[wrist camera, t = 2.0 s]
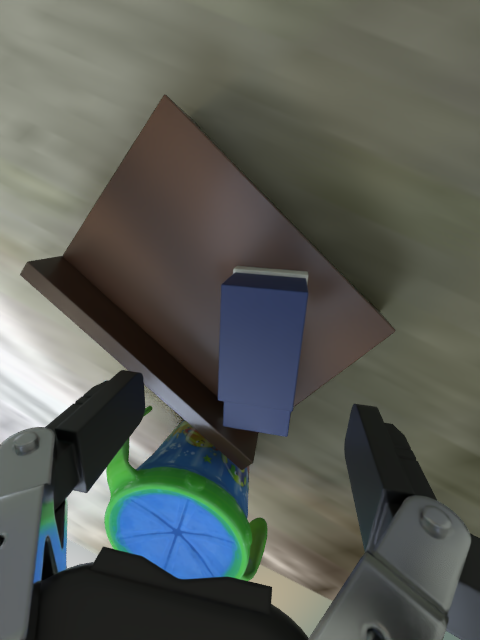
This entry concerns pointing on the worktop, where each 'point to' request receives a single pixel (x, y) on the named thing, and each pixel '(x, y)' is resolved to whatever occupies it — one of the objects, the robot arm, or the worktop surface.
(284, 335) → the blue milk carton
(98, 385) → the robot arm
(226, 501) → the snack cup
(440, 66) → the worktop surface
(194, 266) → the wooden display stand
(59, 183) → the worktop surface
